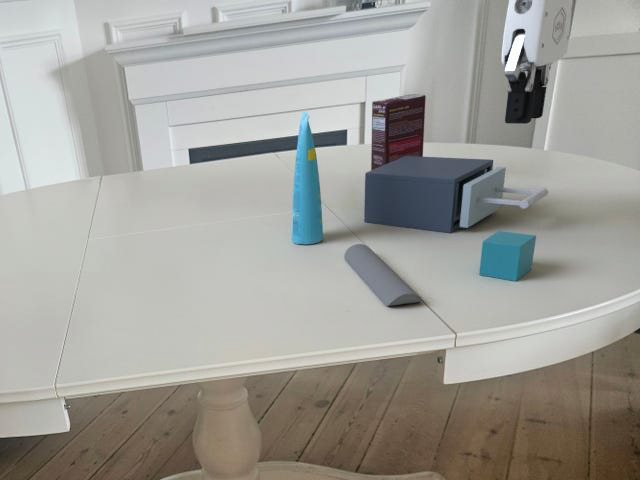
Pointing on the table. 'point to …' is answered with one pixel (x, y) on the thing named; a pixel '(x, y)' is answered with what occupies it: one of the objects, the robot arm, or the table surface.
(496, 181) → the drawer
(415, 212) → the drawer cabinet
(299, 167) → the tube
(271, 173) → the table surface
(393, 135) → the supplement box
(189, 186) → the table surface
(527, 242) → the teal box
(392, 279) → the gray half cylinder
